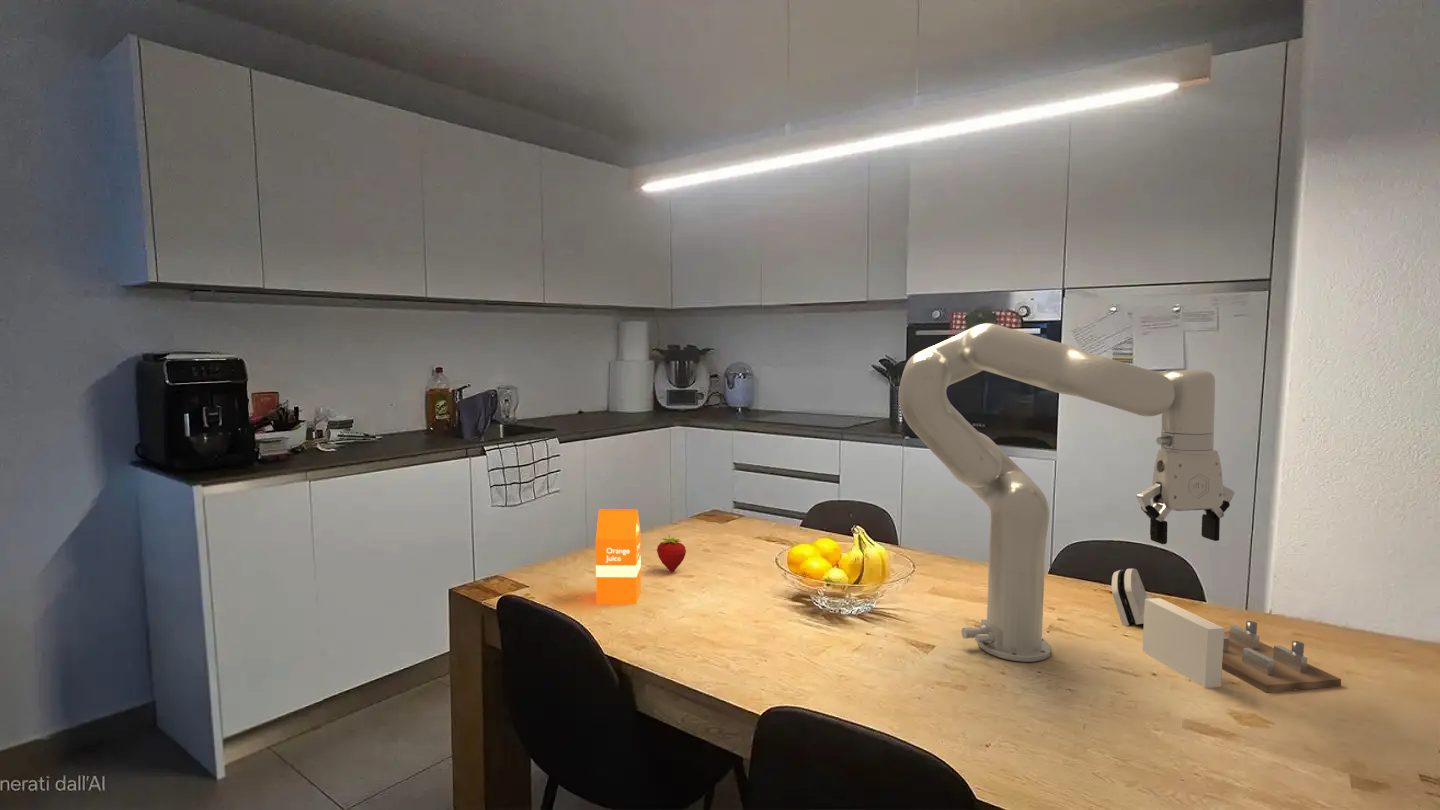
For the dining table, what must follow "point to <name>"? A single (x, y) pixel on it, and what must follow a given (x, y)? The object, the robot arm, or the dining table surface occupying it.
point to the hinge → (1129, 596)
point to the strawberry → (671, 553)
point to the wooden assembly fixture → (1270, 663)
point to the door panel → (1183, 642)
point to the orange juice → (618, 557)
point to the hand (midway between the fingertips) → (1184, 540)
